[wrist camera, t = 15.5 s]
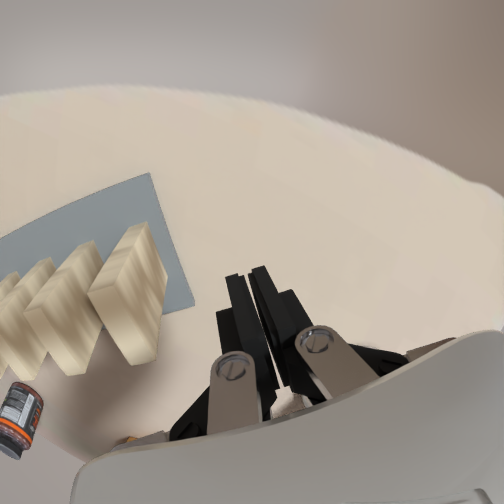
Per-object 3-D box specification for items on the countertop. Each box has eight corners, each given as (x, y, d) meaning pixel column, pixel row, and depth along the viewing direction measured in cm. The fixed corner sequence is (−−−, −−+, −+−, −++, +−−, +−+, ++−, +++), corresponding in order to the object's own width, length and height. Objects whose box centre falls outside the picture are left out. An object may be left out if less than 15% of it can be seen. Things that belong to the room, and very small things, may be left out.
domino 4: (167, 276, 23) (155, 360, 14) (150, 281, 23) (130, 366, 14) (146, 221, 21) (113, 285, 12) (128, 227, 21) (86, 293, 12)
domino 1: (39, 313, 22) (-2, 382, 13) (30, 316, 22) (-11, 382, 13) (16, 270, 20) (-38, 331, 11) (7, 274, 20) (-46, 334, 11)
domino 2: (74, 303, 22) (34, 379, 13) (62, 306, 22) (21, 380, 13) (50, 256, 20) (-8, 322, 11) (38, 261, 20) (-19, 325, 11)
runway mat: (194, 299, 26) (194, 305, 25) (18, 343, 24) (15, 348, 23) (149, 172, 20) (147, 173, 20) (-30, 256, 19) (-34, 260, 18)
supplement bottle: (44, 411, 29) (28, 468, 19) (13, 394, 27) (-7, 449, 17) (44, 392, 27) (23, 455, 17) (10, 374, 25) (-16, 432, 15)
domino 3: (116, 291, 23) (85, 373, 14) (102, 295, 23) (67, 376, 14) (93, 239, 21) (40, 307, 12) (78, 245, 20) (22, 312, 11)
